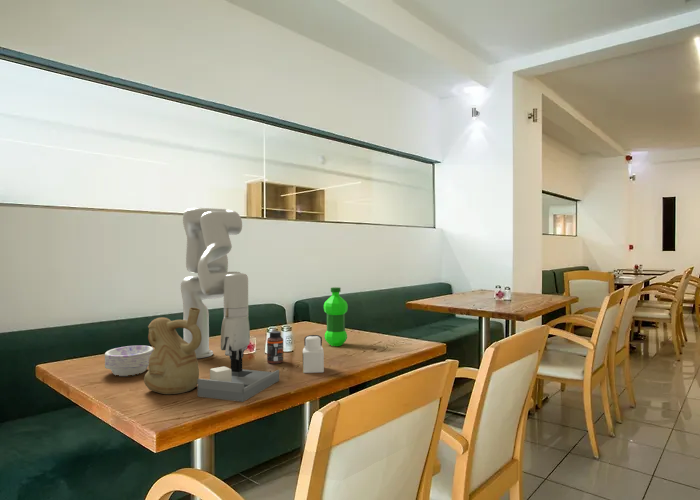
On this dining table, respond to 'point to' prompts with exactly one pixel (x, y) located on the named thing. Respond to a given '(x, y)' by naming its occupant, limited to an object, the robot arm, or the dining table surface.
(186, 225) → the robot arm
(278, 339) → the supplement bottle
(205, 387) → the tray
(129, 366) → the paper bowls
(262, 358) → the dining table surface
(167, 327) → the ceramic vessel
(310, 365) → the medicine bottle
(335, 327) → the plastic bottle
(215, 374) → the cream block
